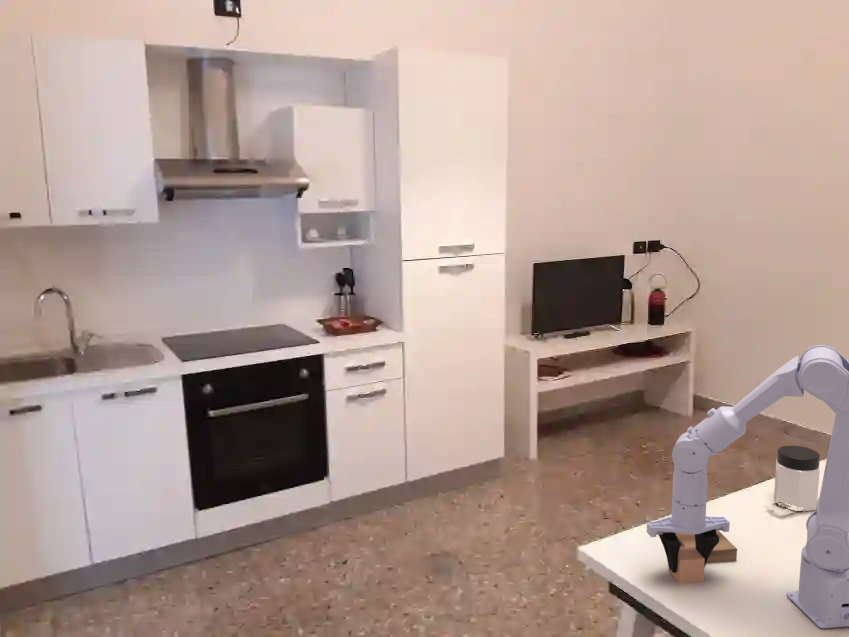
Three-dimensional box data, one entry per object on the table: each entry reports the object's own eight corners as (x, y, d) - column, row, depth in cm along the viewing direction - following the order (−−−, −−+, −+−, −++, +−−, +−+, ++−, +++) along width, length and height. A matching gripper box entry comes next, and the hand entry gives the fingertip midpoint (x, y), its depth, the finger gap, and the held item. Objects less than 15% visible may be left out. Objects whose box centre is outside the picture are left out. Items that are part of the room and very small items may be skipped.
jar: (824, 504, 152) (828, 452, 149) (808, 516, 146) (812, 463, 144) (782, 491, 158) (785, 441, 156) (765, 502, 153) (769, 451, 151)
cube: (703, 581, 124) (704, 558, 123) (679, 583, 124) (680, 560, 123) (692, 568, 129) (693, 546, 128) (668, 569, 128) (669, 547, 127)
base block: (736, 560, 131) (737, 548, 130) (690, 564, 130) (690, 552, 129) (713, 537, 139) (713, 525, 139) (669, 540, 139) (670, 528, 138)
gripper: (717, 487, 128) (713, 554, 130) (641, 492, 127) (639, 559, 129) (737, 504, 121) (733, 574, 124) (656, 509, 120) (654, 580, 122)
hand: (686, 568), depth 126 cm, fingers closed on cube, 4 cm apart
